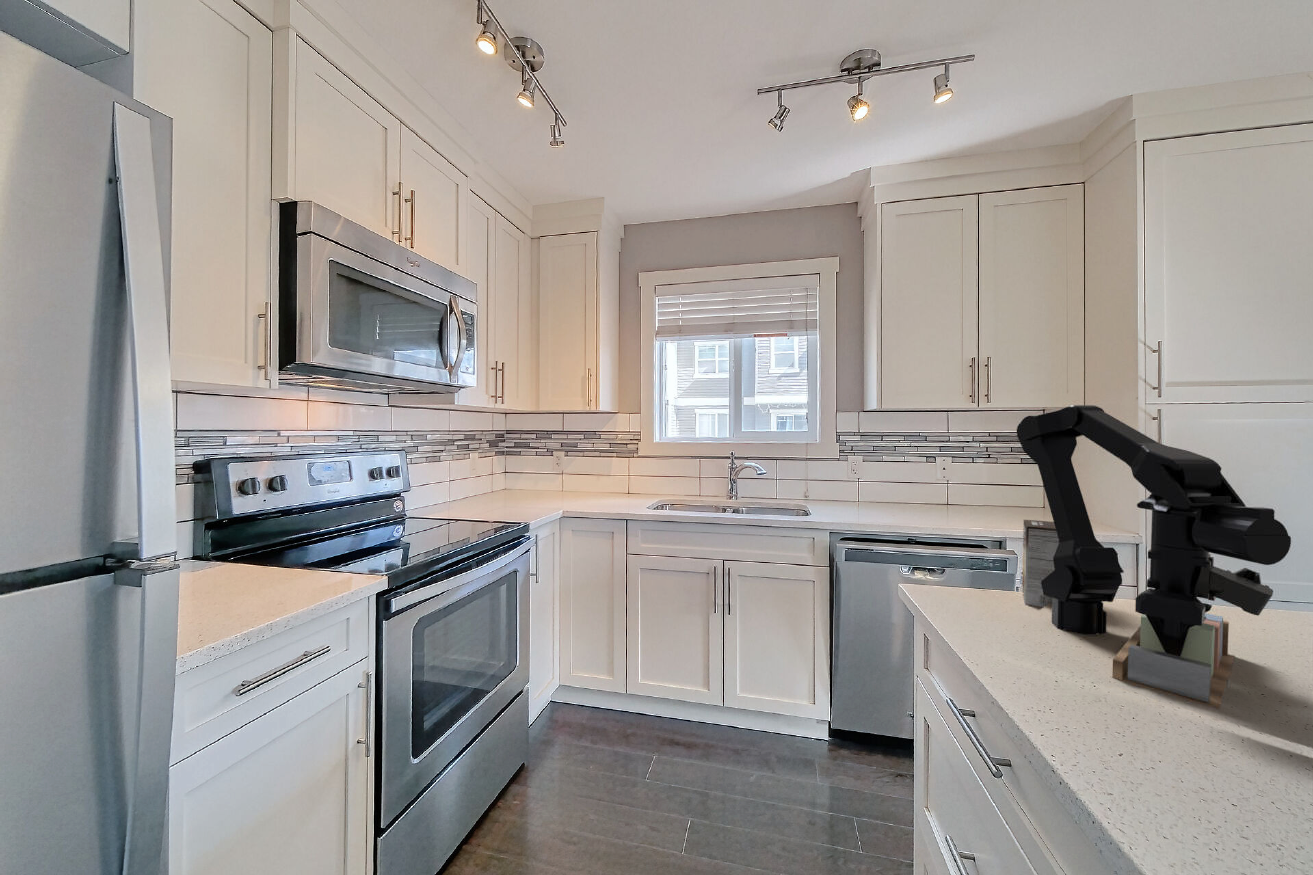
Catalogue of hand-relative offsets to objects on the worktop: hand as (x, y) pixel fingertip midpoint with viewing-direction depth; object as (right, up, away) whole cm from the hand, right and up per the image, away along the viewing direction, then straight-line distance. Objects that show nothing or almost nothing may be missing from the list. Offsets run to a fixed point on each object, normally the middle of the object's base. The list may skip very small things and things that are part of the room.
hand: (1175, 655), depth 72 cm
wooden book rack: (+3, -4, +2) cm, 5 cm away
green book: (0, -2, 0) cm, 2 cm away
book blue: (+10, -3, +8) cm, 12 cm away
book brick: (+6, -3, +5) cm, 9 cm away
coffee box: (+6, -3, +33) cm, 34 cm away
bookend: (-6, -2, -5) cm, 8 cm away
